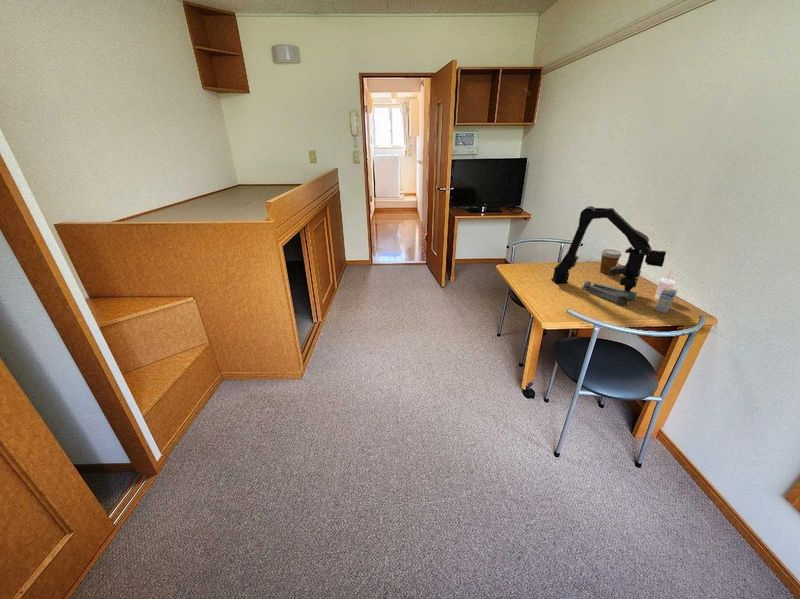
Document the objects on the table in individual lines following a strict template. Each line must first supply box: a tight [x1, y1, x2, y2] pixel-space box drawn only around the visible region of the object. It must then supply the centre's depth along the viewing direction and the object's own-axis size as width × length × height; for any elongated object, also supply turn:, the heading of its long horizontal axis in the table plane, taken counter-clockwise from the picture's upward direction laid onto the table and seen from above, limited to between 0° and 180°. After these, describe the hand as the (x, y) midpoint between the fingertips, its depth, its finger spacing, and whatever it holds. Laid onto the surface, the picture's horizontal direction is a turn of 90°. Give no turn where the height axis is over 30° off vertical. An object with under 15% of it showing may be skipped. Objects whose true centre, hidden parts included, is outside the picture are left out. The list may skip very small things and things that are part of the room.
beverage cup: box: [654, 270, 676, 300], centre depth 154 cm, size 6×6×14 cm
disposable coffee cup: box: [599, 248, 622, 275], centre depth 184 cm, size 10×10×12 cm
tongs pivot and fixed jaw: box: [581, 280, 629, 307], centre depth 160 cm, size 23×5×4 cm, turn 25°
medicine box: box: [654, 288, 678, 314], centre depth 146 cm, size 8×4×9 cm, turn 134°
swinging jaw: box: [592, 282, 638, 301], centre depth 161 cm, size 18×3×3 cm, turn 45°
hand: (626, 293), depth 160 cm, fingers closed
